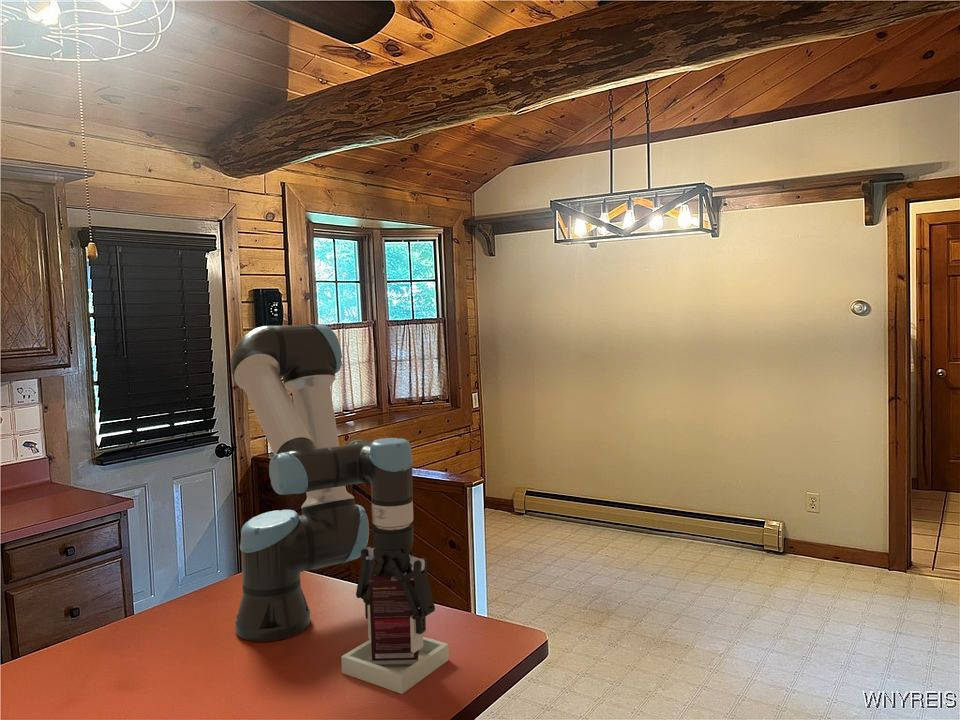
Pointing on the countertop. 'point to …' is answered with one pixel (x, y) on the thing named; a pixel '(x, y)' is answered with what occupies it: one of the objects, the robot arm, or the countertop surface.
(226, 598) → the countertop surface
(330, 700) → the countertop surface
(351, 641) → the countertop surface
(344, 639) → the countertop surface
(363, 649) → the tray
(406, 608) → the supplement box
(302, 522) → the robot arm
